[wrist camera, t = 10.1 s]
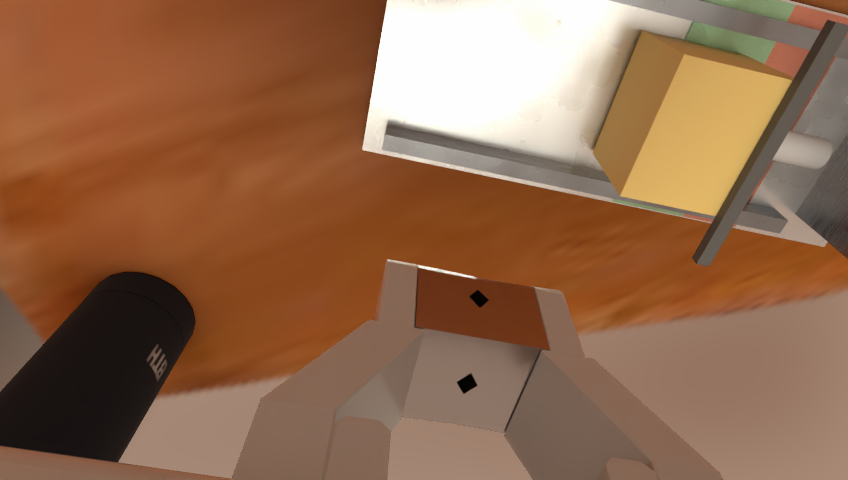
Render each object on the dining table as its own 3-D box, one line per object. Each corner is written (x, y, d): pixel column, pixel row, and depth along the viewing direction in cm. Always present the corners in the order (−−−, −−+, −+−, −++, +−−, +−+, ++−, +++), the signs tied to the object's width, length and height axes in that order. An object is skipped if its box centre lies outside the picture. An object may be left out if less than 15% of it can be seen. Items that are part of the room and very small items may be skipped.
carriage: (664, -24, 23) (719, -8, 19) (854, 25, 24) (952, 51, 19) (576, 191, 28) (603, 245, 24) (735, 225, 29) (790, 282, 25)
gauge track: (405, -98, 23) (393, -101, 17) (949, 41, 25) (1107, 81, 19) (364, 142, 29) (345, 203, 23) (813, 237, 31) (903, 315, 25)
